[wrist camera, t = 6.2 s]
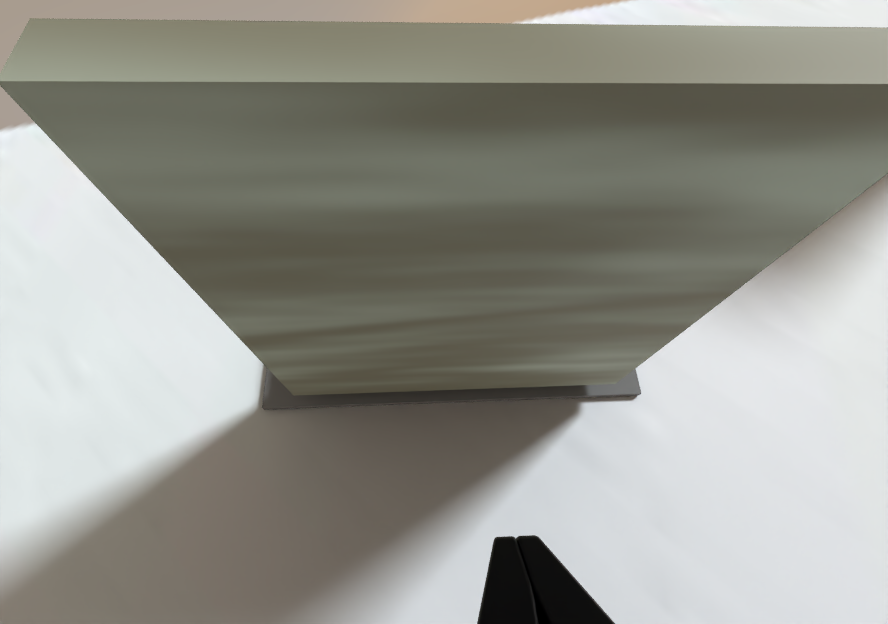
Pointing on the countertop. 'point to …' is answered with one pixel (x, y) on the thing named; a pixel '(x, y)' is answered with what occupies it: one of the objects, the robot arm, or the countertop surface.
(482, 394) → the mat
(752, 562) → the countertop surface
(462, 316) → the wooden bookend
